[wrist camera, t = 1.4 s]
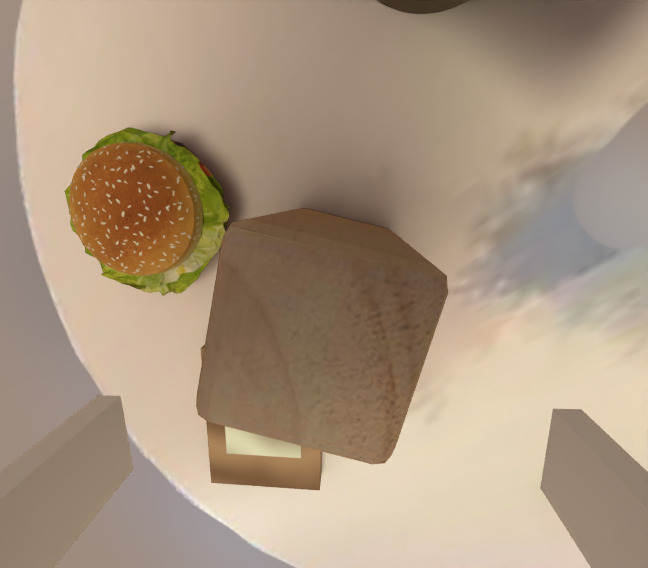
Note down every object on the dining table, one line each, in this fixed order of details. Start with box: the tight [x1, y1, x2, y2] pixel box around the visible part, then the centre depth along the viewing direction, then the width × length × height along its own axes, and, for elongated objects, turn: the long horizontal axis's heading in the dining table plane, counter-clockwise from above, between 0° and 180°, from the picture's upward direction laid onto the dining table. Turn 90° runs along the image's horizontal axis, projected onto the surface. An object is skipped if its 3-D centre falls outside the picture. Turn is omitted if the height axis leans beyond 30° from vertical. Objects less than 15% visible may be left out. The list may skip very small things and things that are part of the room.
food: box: [65, 128, 231, 296], centre depth 31 cm, size 14×14×8 cm
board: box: [201, 345, 322, 490], centre depth 37 cm, size 16×12×3 cm
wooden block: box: [196, 208, 448, 464], centre depth 25 cm, size 10×10×20 cm
